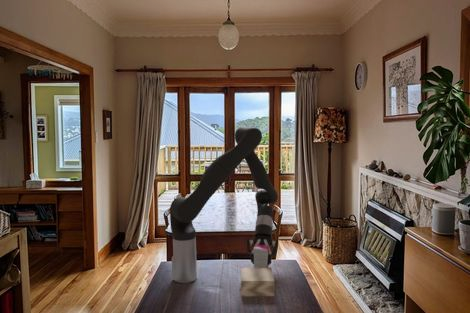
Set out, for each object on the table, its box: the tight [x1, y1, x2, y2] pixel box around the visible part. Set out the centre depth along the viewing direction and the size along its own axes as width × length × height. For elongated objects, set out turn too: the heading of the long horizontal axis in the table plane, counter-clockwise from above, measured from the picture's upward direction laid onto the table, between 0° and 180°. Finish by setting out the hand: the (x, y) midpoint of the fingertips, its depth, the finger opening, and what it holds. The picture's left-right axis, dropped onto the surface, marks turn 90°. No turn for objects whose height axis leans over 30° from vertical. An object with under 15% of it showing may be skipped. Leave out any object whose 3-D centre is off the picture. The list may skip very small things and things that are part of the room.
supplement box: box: [253, 244, 270, 268], centre depth 144 cm, size 6×6×12 cm
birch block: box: [240, 267, 275, 297], centre depth 131 cm, size 12×12×6 cm
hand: (260, 263), depth 142 cm, fingers closed on supplement box, 5 cm apart
